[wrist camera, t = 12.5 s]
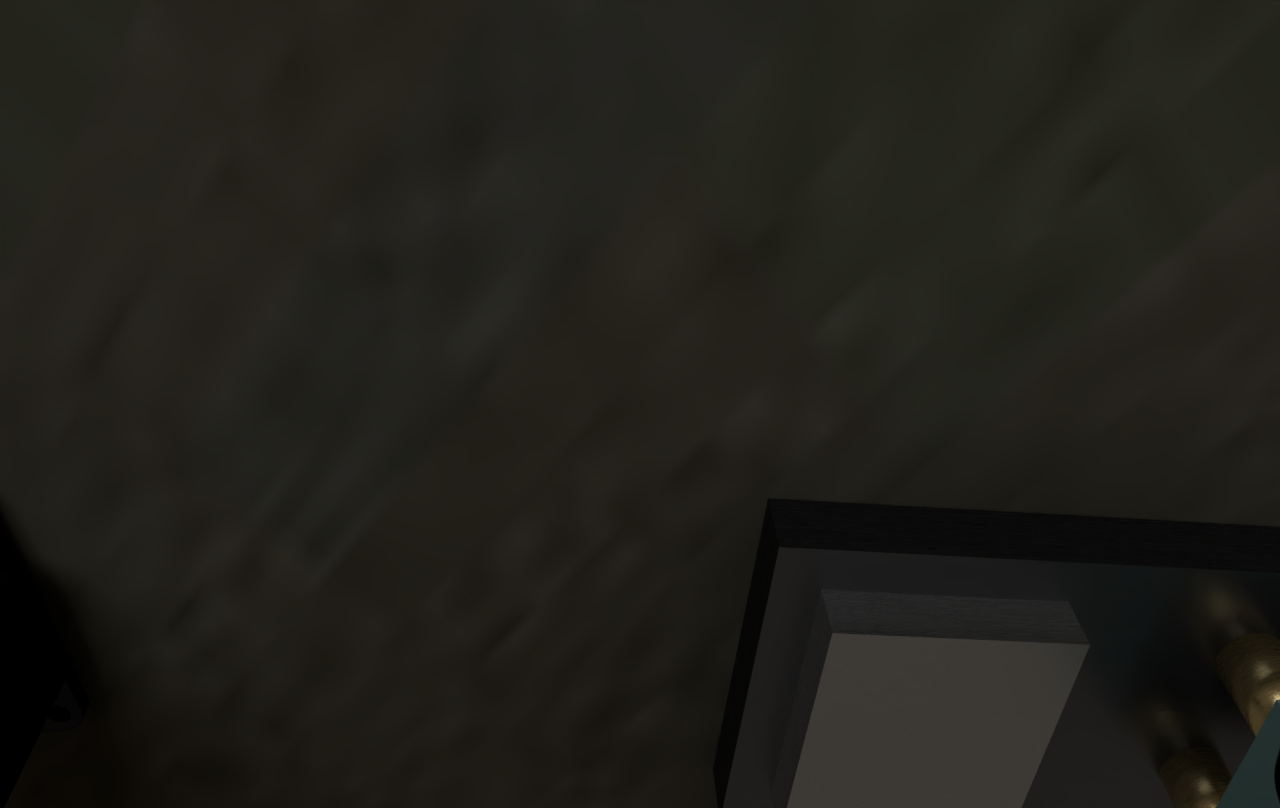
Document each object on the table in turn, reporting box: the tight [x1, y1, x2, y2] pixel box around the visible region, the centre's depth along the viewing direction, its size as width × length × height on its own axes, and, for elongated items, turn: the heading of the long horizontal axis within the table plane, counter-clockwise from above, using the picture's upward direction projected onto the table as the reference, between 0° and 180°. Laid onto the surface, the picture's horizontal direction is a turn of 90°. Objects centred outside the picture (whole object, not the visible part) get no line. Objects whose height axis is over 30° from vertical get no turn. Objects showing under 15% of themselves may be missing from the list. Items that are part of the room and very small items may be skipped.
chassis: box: [713, 499, 1280, 808], centre depth 25 cm, size 16×8×4 cm, turn 84°
